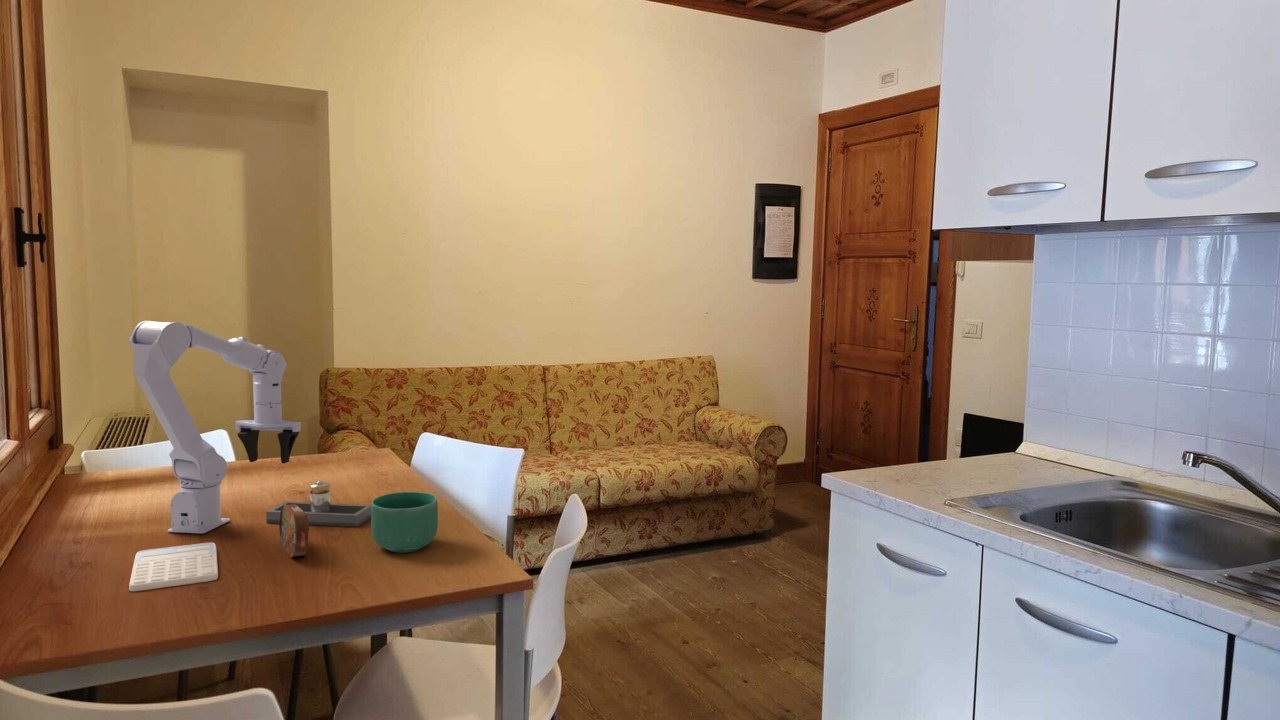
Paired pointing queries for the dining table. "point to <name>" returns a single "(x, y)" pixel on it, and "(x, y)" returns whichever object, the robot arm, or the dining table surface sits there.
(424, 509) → the mug
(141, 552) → the calculator
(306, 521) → the tin
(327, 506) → the cell
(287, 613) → the dining table surface
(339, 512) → the trough
